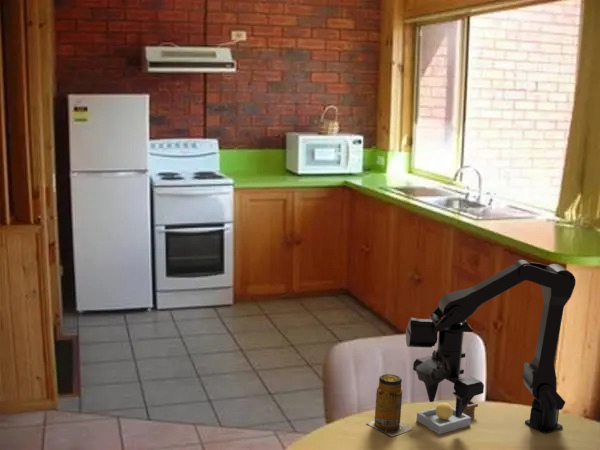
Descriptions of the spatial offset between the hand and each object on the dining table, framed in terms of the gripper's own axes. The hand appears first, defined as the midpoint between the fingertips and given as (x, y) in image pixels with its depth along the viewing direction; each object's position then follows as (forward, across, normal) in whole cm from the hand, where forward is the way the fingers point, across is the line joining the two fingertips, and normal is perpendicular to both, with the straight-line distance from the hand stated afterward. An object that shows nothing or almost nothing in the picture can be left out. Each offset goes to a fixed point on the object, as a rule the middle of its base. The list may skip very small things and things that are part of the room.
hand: (444, 409), depth 179 cm
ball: (0, 0, 0) cm, 0 cm away
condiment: (+4, -4, -13) cm, 14 cm away
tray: (+4, 0, 0) cm, 4 cm away
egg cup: (+4, 0, +8) cm, 9 cm away
